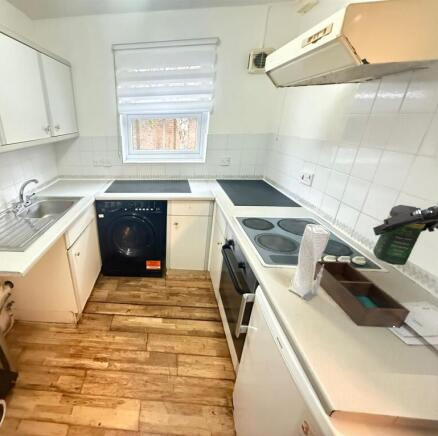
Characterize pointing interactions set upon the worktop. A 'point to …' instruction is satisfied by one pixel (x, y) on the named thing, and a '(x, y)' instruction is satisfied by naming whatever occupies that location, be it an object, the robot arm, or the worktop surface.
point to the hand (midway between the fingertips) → (389, 232)
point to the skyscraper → (309, 261)
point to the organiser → (360, 296)
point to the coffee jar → (398, 239)
